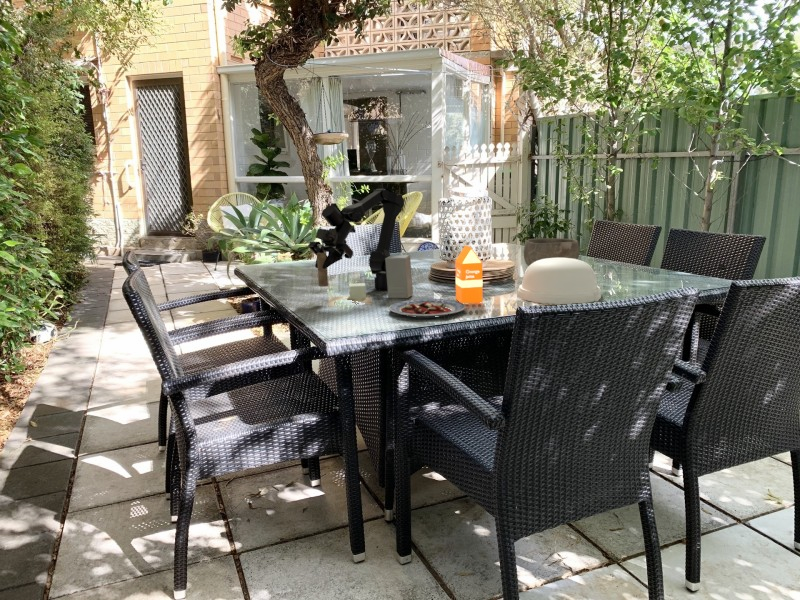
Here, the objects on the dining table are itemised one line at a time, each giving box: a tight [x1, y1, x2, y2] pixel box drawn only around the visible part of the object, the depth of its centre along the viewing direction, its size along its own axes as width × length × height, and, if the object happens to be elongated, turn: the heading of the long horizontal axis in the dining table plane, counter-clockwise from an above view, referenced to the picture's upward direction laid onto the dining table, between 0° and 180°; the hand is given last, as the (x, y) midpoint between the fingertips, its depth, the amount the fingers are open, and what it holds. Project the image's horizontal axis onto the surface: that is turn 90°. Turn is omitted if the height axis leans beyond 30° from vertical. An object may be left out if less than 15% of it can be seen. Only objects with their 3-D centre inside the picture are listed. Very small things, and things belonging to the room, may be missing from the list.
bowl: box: [523, 237, 580, 268], centre depth 280 cm, size 24×24×15 cm
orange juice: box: [455, 244, 484, 304], centre depth 224 cm, size 8×9×20 cm
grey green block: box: [348, 282, 367, 300], centre depth 237 cm, size 6×6×5 cm
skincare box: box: [385, 254, 414, 299], centre depth 236 cm, size 8×7×16 cm
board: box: [327, 294, 373, 308], centre depth 232 cm, size 16×18×1 cm
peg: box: [316, 252, 329, 288], centre depth 227 cm, size 3×3×12 cm
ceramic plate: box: [388, 298, 466, 318], centre depth 211 cm, size 26×26×3 cm
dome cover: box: [517, 258, 602, 305], centre depth 230 cm, size 32×30×14 cm
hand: (319, 267), depth 226 cm, fingers closed on peg, 3 cm apart
